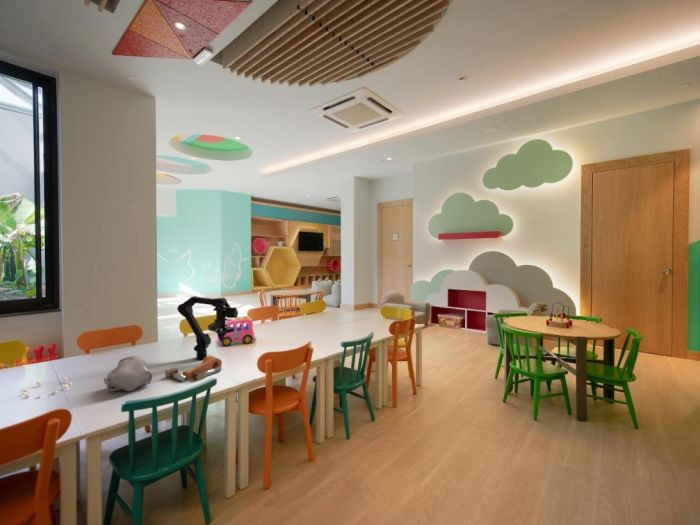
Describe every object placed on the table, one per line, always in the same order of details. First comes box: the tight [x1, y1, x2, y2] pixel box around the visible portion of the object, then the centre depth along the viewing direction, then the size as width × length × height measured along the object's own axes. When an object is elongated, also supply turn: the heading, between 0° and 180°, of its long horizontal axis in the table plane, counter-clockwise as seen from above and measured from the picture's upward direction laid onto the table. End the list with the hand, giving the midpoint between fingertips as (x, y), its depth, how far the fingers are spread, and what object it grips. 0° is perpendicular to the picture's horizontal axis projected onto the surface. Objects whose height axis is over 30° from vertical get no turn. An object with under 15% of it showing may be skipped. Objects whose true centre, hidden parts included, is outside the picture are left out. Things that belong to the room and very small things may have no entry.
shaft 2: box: [191, 366, 222, 382], centre depth 185 cm, size 16×5×4 cm, turn 148°
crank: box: [182, 355, 223, 381], centre depth 188 cm, size 20×8×8 cm, turn 143°
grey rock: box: [103, 355, 153, 392], centre depth 166 cm, size 20×18×15 cm
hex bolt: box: [164, 367, 187, 383], centre depth 179 cm, size 14×5×4 cm, turn 58°
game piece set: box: [18, 377, 73, 399], centre depth 163 cm, size 19×20×4 cm
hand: (221, 341), depth 211 cm, fingers closed
